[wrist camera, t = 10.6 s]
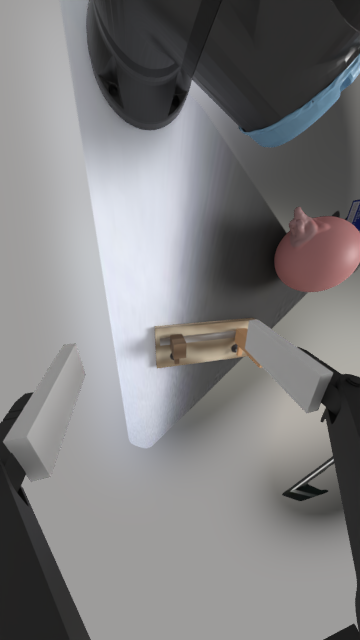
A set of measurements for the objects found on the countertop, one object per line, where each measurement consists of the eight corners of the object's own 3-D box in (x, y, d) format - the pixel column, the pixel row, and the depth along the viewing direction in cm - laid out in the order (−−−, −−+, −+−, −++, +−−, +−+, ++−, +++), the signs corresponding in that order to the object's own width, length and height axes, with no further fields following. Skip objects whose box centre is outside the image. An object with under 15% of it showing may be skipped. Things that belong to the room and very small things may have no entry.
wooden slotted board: (154, 326, 47) (158, 340, 41) (253, 317, 53) (269, 329, 47) (156, 364, 52) (159, 383, 46) (246, 353, 58) (260, 367, 52)
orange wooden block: (235, 328, 50) (262, 352, 40) (245, 327, 51) (275, 351, 40) (231, 352, 54) (256, 381, 43) (241, 351, 54) (267, 379, 44)
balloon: (293, 185, 41) (373, 159, 28) (321, 255, 50) (393, 262, 36) (240, 236, 43) (290, 236, 29) (276, 294, 52) (328, 315, 38)
